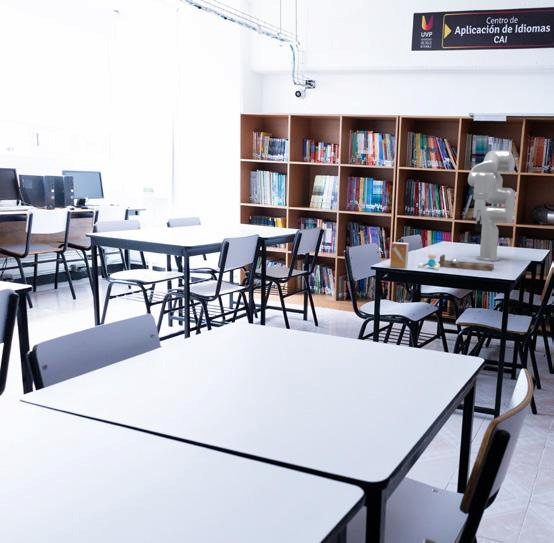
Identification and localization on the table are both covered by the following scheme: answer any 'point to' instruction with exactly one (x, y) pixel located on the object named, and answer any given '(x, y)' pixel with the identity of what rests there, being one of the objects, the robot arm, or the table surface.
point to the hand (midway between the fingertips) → (478, 231)
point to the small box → (399, 255)
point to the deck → (465, 265)
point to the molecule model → (431, 262)
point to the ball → (454, 261)
